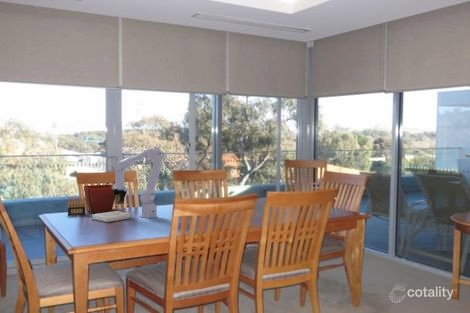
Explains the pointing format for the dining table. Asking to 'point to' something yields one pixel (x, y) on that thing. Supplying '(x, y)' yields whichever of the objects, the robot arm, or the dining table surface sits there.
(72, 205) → the ammunition clip
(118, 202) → the walnut block
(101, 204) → the plant pot
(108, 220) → the tray
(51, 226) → the dining table surface
